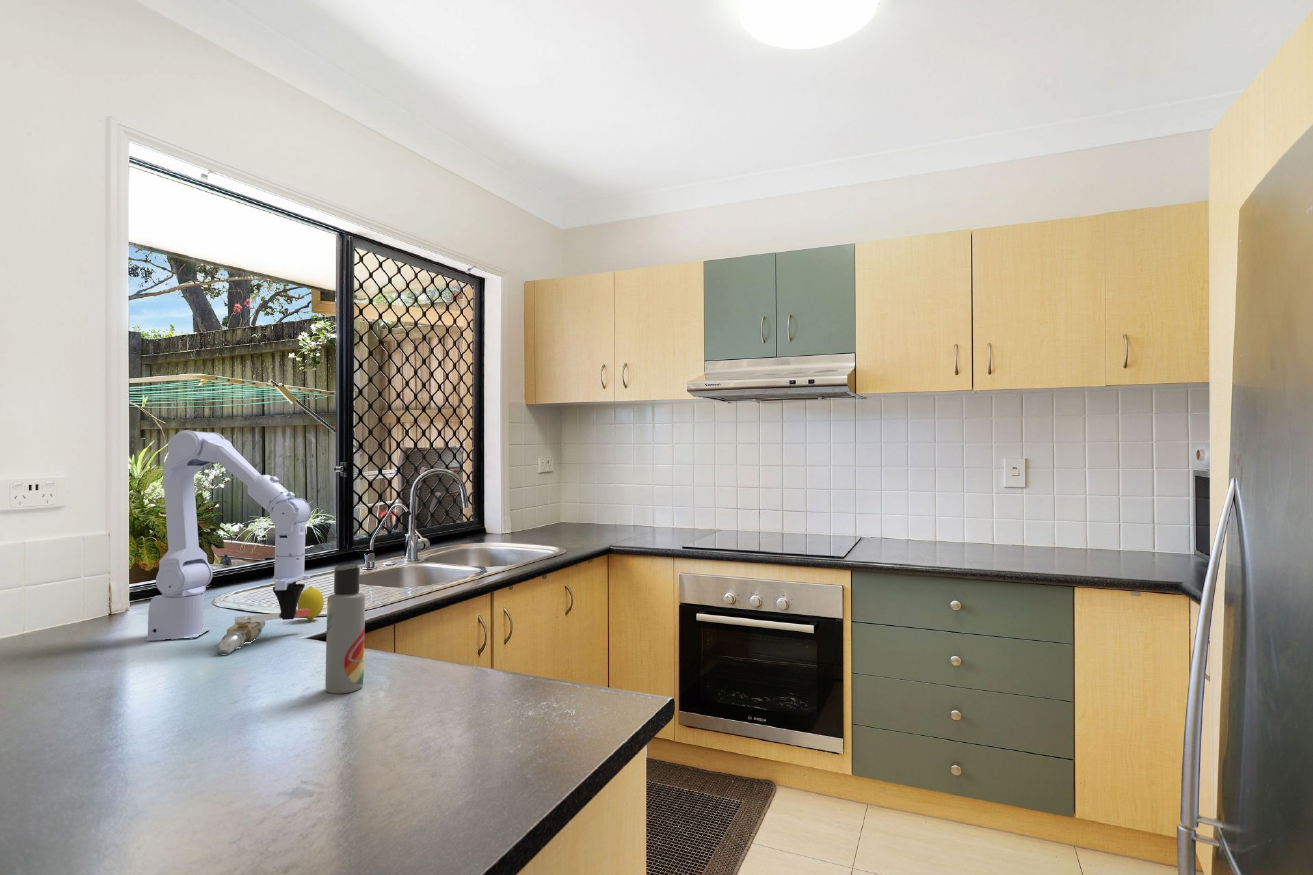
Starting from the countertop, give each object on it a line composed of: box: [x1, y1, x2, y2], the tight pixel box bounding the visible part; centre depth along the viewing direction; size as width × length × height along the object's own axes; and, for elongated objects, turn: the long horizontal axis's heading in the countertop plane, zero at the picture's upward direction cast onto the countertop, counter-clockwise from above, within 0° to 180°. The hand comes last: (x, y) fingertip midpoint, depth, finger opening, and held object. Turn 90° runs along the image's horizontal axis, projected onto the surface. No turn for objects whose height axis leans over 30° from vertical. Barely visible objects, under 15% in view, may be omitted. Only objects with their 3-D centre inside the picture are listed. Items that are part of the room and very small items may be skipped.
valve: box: [216, 621, 266, 655], centre depth 145 cm, size 22×4×4 cm, turn 15°
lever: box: [234, 608, 310, 625], centre depth 149 cm, size 14×3×1 cm, turn 134°
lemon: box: [297, 586, 324, 621], centre depth 166 cm, size 6×6×8 cm
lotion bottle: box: [324, 563, 366, 695], centre depth 114 cm, size 6×6×20 cm
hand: (288, 619), depth 150 cm, fingers closed, pressing on lever
